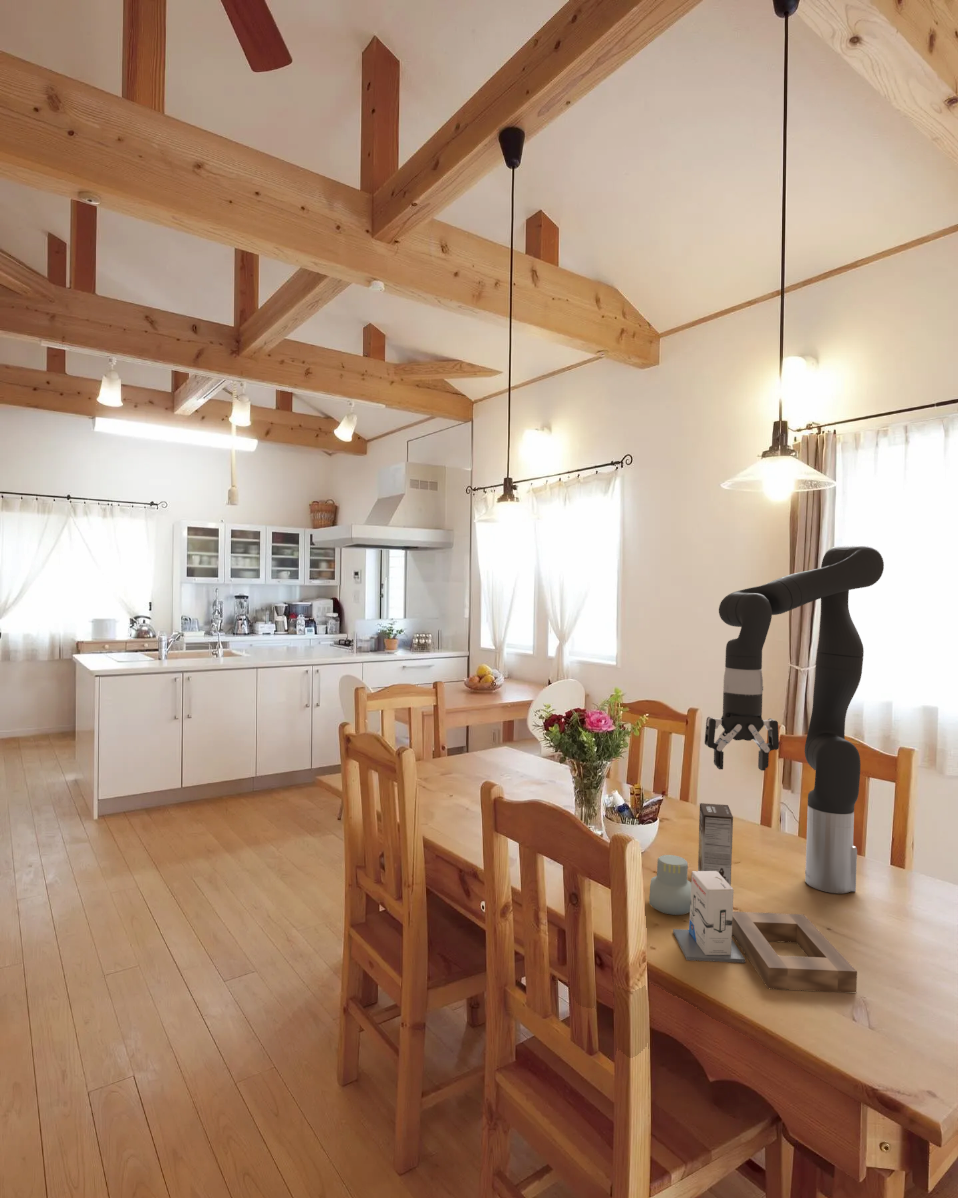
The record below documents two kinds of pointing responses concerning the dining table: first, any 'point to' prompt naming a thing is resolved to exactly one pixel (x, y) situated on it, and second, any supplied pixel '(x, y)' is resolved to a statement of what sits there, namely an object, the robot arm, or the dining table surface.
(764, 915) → the pocket
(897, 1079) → the dining table surface
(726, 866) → the coffee box
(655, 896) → the air freshener
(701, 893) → the ink box
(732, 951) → the coaster
